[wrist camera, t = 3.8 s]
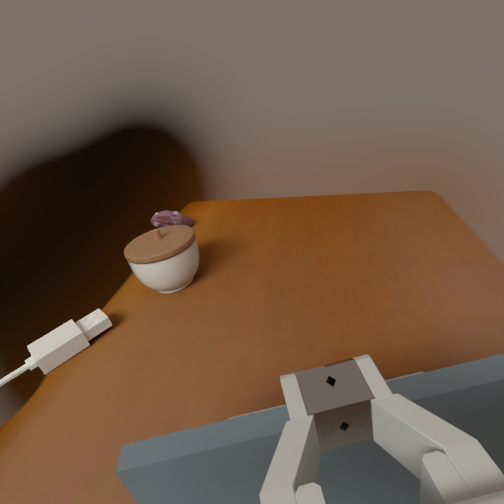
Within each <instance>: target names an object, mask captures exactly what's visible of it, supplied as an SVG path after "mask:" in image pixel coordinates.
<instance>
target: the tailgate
mask: <svg viewBox="0 0 504 504" xmlns="http://www.w3.org/2000/svg"><path fill="white" fill-rule="evenodd" d="M385 382H386V383H387V385H388V386H389V388H390V390H391V391H392V393H393V394H397V393H398V394H400V395H402V396H403V397H405V398H407V399H408V400H410V401H412V402H414V403H415V404H417V405H419V406H420V407H422V408H424V409H426V410H427V411H429V412H431V413H432V414H434V415H436V416H437V417H439V418H441V419H443V420H444V421H446V422H448V423H449V424H451V425H453V426H455V427H456V428H458V429H460V430H461V431H463V432H465V433H467V434H468V435H470V436H472V437H473V438H475V439H477V440H478V442H479V443H480V444H481V446H482V447H483V448H484V450H485V451H486V452H487V454H488V455H489V456H490V458H491V459H492V460H493V462H494V463H495V464H496V465H497V467H498V468H499V469H500V471H501V472H502V473H503V475H504V353H503V354H499V355H495V356H491V357H487V358H483V359H478V360H474V361H470V362H466V363H462V364H458V365H453V366H449V367H445V368H441V369H437V370H433V371H428V372H424V373H423V371H422V372H418V373H414V374H410V375H405V376H401V377H397V378H393V379H389V380H385ZM228 419H229V420H224V421H220V422H216V423H212V424H208V425H204V426H199V427H195V428H191V429H187V430H183V431H179V432H174V433H170V434H166V435H162V436H158V437H154V438H149V439H145V440H141V441H137V442H133V443H129V444H124V445H122V448H121V452H120V456H119V460H118V465H117V469H116V473H117V475H118V476H119V478H120V479H121V481H122V482H123V484H124V485H125V487H126V488H127V489H128V491H129V492H130V494H131V495H132V497H133V498H134V500H135V501H136V502H137V504H261V503H260V495H259V494H260V491H261V489H262V486H263V483H264V481H265V478H266V475H267V472H268V470H269V467H270V464H271V461H272V459H273V456H274V453H275V451H276V448H277V445H278V442H279V440H280V437H281V434H282V431H283V429H284V426H285V423H286V421H290V418H289V414H288V409H287V405H286V404H285V405H280V406H276V407H272V408H268V409H264V410H260V411H255V412H251V413H247V414H243V415H239V416H235V417H230V418H228ZM315 483H316V484H318V485H319V486H320V487H321V490H322V493H323V497H324V500H325V504H419V502H420V484H421V480H420V479H418V478H417V477H416V476H415V475H414V474H412V473H411V472H410V471H409V470H408V469H407V468H405V467H404V466H403V465H402V464H401V463H400V462H398V461H397V460H396V459H395V458H394V457H393V456H391V455H390V454H389V453H388V452H387V451H386V450H384V449H383V448H382V447H381V446H380V445H378V444H377V443H376V442H375V441H374V440H373V439H370V440H366V441H361V442H357V443H352V444H348V445H344V446H341V447H337V448H334V449H330V450H327V451H323V452H321V457H320V462H319V466H318V471H317V476H316V481H315Z"/></svg>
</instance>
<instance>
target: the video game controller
mask: <svg viewBox="0 0 504 504" xmlns="http://www.w3.org/2000/svg"><path fill="white" fill-rule="evenodd" d="M151 223H152V224H153V225H155V226H156V227H160V228H161V227H165V226H171V225H170V224H169V223H171V224H172V225H187V226H189V227H190V226H192V225H193V220H192V219H191V218H190V217H188V216H185V215H183V214H182V213H178V212H177V211H176V212H172V211H162V212H160V213H156V214H155V215H154V216H153V217H152V219H151Z"/></svg>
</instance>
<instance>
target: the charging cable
mask: <svg viewBox="0 0 504 504" xmlns="http://www.w3.org/2000/svg"><path fill="white" fill-rule="evenodd" d="M110 326H112V323H111V321H110V320H109V318H108V317H107V316H106V315H105V314H104V313H103V312H102V311H101V310H100V309H97V310H95V311H94V312H92V313H90V314H89V315H87V316H86V317H84V318H82V319H81V320H79V321H77V322H76V323H74V322H73V321H72V320H70V321H68V322H66V323H65V324H63V325H61V326H60V327H58V328H56V329H55V330H53V331H51V332H50V333H48V334H46V335H45V336H43V337H41V338H40V339H38V340H36V341H35V342H33V343H31V344H30V345H28V346H27V347H28V349H29V351H30V353H31V357H30V358H28V359H27V360H25V362H26V364H25V365H23V366H21V367H20V368H18V369H17V370H15V371H13V372H12V373H10V374H9V375H7V376H5V377H4V378H3V379H1V380H0V387H1V386H2V385H4V384H5V383H7V382H8V381H10V380H11V379H13V378H15V377H16V376H18V375H19V374H21V373H23V372H24V371H26V370H27V369H30V370H33V369H34V368H36V367H38V366H39V367H40V369H41V370H42V371H43V373H44V374H45V375H47V374H48V373H49V372H50V371H52V370H53V369H55V368H56V367H58V366H59V365H61V364H63V363H64V362H66V361H67V360H69V359H70V358H72V357H73V356H75V355H76V354H78V353H80V352H81V351H83V350H84V349H86V348H87V347H89V346H90V344H89V342H88V341H89V340H91V339H92V338H94V337H95V336H97V335H98V334H100V333H101V332H103V331H104V330H106V329H107V328H109V327H110Z"/></svg>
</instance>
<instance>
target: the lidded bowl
mask: <svg viewBox="0 0 504 504" xmlns="http://www.w3.org/2000/svg"><path fill="white" fill-rule="evenodd" d="M124 255H125V257H126V259H127V260H128V262H129V264H130V266H131V268H132V270H133V272H134V273H135V275H136V276H137V278H138V279H139V280H140V281H141V282H142V283H143V284H144V285H145V286H147V287H149V288H151V289H153V290H157V291H158V292H160V293H165V294H166V293H173V292H177V291H179V290H182V289H184V288H185V287H187V286H188V285H189V284H190V283H191V282H192V281H193V277H194V275H195V274H196V272H197V269H198V266H199V250H198V245H197V242H196V239H195V233H194V230H193V229H192V228H191V227H189V226H187V225H171V226H165V227H161V228H158V229H154V230H152V231H149V232H147V233H145V234H142V235H141V236H139V237H137V238H136V239H134V240H133V241H131V242H130V243H129V244H128V245H127V247H126V248H125V250H124Z"/></svg>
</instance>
